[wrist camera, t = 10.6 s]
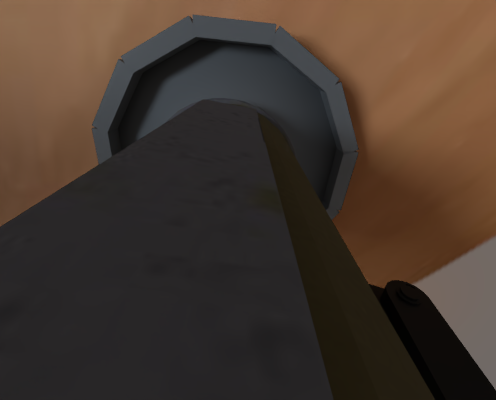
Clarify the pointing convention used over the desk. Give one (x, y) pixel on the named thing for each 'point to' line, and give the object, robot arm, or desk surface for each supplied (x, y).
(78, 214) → the canister
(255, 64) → the round tray
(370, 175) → the desk surface
